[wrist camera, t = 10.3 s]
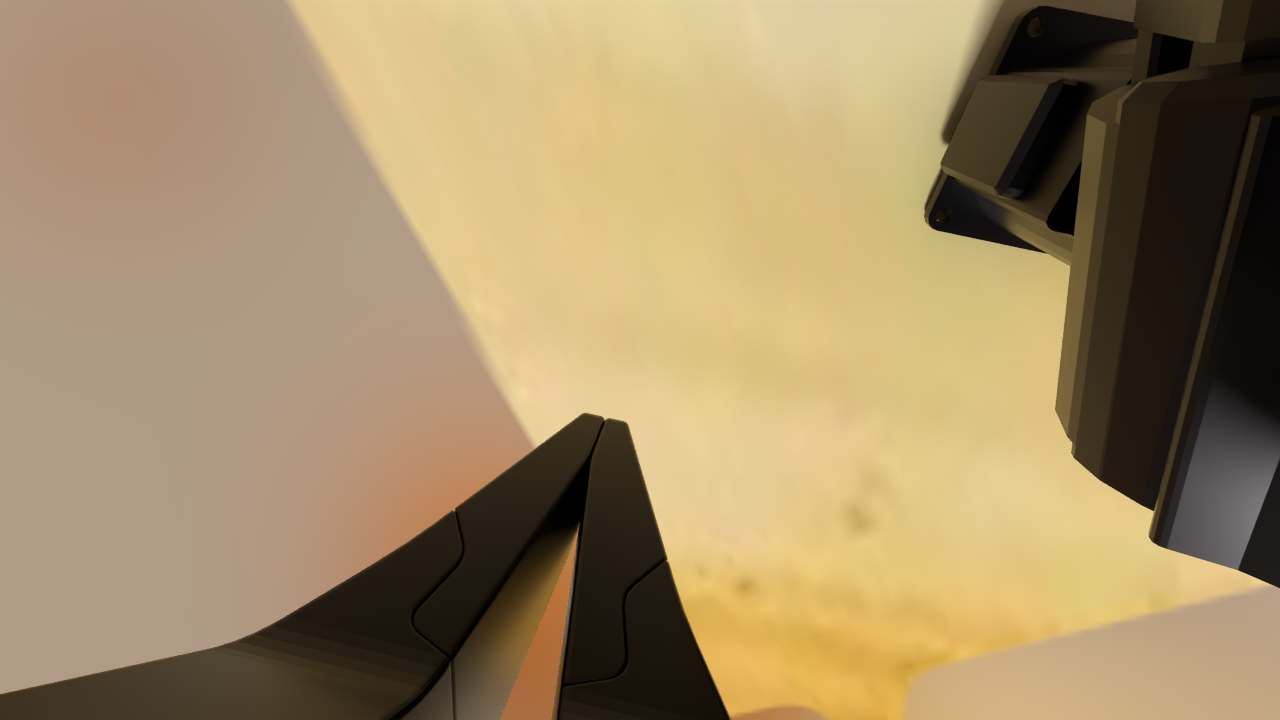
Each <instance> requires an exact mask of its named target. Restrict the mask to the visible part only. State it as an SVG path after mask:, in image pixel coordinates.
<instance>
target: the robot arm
mask: <svg viewBox="0 0 1280 720" xmlns="http://www.w3.org/2000/svg"><path fill="white" fill-rule="evenodd" d="M1034 18H1036V19H1038V20H1039V23H1040V25H1039V29H1038V31H1037V32H1036V34H1035V35H1033V36H1032V37H1030V36H1028V34H1027V26H1028V24H1029V23H1030V22H1031V20H1033V19H1034ZM941 167H942V169H943V171H944V172H943V174H942V177H941V179H940V181H939V183H938V185H937V187H936V189H935V192H934V194H933V196H932V198H931V200H930V202H929V204H928V206H927V209H926V211H925V215H924V218H925V222H926V223H927V224H928V225H929V226H930V227H931V228H933V229H935V230H937V231H942V232H947V233H952V234H956V235H961V236H966V237H971V238H975V239H980V240H985V241H990V242H994V243H999V244H1004V245H1009V246H1013V247H1018V248H1023V249H1028V250H1032V251H1037V252H1042V253H1047V254H1049V255H1051V256H1053V257H1055V258H1057V259H1058V260H1060V261H1062V262H1064V263H1066V264H1067V265H1069V266H1071V268H1070V277H1069V287H1068V296H1067V305H1066V314H1065V323H1064V333H1063V342H1062V351H1061V360H1060V369H1059V379H1058V388H1057V397H1056V406H1055V410H1056V412H1057V415H1058V417H1059V419H1060V421H1061V424H1062V426H1063V428H1064V430H1065V433H1066V435H1067V437H1068V438H1069V439H1070V440H1071V441H1072V443H1073V444H1072V451H1071V453H1072V455H1073V457H1074V458H1075V459H1076V460H1077V461H1078V462H1079V463H1080V464H1082V465H1083V466H1084V467H1085V468H1086V469H1087V470H1088V471H1090V472H1091V473H1092V474H1093V475H1094V476H1095V477H1096V478H1098V479H1099V480H1100V481H1102V482H1104V483H1105V484H1107V485H1109V486H1110V487H1112V488H1114V489H1115V490H1117V491H1119V492H1120V493H1122V494H1124V495H1125V496H1127V497H1129V498H1130V499H1132V500H1134V501H1135V502H1137V503H1139V504H1140V505H1142V506H1144V507H1146V508H1148V509H1150V510H1152V511H1154V514H1153V518H1152V522H1151V526H1150V530H1149V538H1150V539H1151V541H1152V542H1153V543H1155V544H1157V545H1158V546H1160V547H1163V548H1166V549H1169V550H1173V551H1176V552H1179V553H1183V554H1186V555H1189V556H1193V557H1196V558H1199V559H1203V560H1206V561H1209V562H1213V563H1216V564H1219V565H1223V566H1226V567H1229V568H1233V569H1236V570H1239V571H1241V572H1243V573H1246V574H1248V575H1251V576H1253V577H1255V578H1258V579H1260V580H1262V581H1265V582H1267V583H1269V584H1272V585H1274V586H1276V587H1279V588H1280V0H1137V2H1136V10H1135V17H1134V23H1132V22H1127V21H1122V20H1117V19H1111V18H1106V17H1101V16H1096V15H1091V14H1086V13H1081V12H1075V11H1070V10H1065V9H1060V8H1055V7H1050V6H1039V7H1034V8H1031V9H1028V10H1026V11H1024V12H1023V13H1022V14H1021V15H1019V16H1018V17H1017V19H1016V20H1015V22H1014V23H1013V25H1012V27H1011V29H1010V31H1009V33H1008V35H1007V38H1006V40H1005V42H1004V44H1003V46H1002V48H1001V50H1000V52H999V55H998V57H997V59H996V61H995V63H994V65H993V67H992V70H991V72H990V74H989V76H987V77H985V78H984V79H982V80H981V81H979V82H978V83H977V85H976V87H975V89H974V91H973V93H972V96H971V98H970V100H969V102H968V104H967V107H966V109H965V111H964V113H963V115H962V117H961V120H960V122H959V124H958V126H957V128H956V130H955V133H954V135H953V137H952V139H951V141H950V143H949V146H948V148H947V150H946V152H945V154H944V156H943V159H942V161H941ZM943 209H947V210H948V214H947V216H946V217H945V218H944V219H942V220H941V221H937V220H936V215H937V214H938V212H939V211H941V210H943ZM578 529H579V531H578ZM577 532H578V538H577V544H576V550H575V557H574V564H573V572H572V579H571V585H570V593H569V600H568V606H567V613H566V620H565V627H564V634H563V641H562V648H561V656H560V662H559V669H558V676H557V683H556V690H555V697H554V705H553V711H552V718H551V720H731V718H730V716H729V714H728V711H727V709H726V707H725V705H724V702H723V700H722V698H721V696H720V693H719V691H718V689H717V686H716V684H715V682H714V680H713V677H712V675H711V673H710V671H709V668H708V666H707V664H706V662H705V659H704V657H703V655H702V652H701V650H700V648H699V646H698V643H697V641H696V638H695V636H694V634H693V631H692V629H691V626H690V624H689V621H688V619H687V616H686V614H685V611H684V608H683V605H682V602H681V600H680V597H679V594H678V591H677V588H676V585H675V581H674V578H673V575H672V571H671V568H670V565H669V562H667V555H666V552H665V548H664V545H663V542H662V538H661V535H660V531H659V528H658V525H657V521H656V518H655V514H654V511H653V508H652V504H651V501H650V497H649V494H648V491H647V487H646V484H645V481H644V477H643V474H642V470H641V467H640V464H639V460H638V457H637V453H636V450H635V447H634V443H633V440H632V436H631V433H630V430H629V426H628V424H627V423H626V422H624V421H620V420H615V419H611V418H608V419H606V420H605V419H604V418H603V417H602V416H598V415H593V414H589V413H583V414H581V415H580V416H579V417H577V418H576V419H574V420H573V421H572V422H570V423H569V424H568V425H566V426H565V427H564V428H562V429H561V430H560V431H558V432H557V433H556V434H554V435H553V436H552V437H550V438H549V439H548V440H546V441H545V442H544V443H542V444H541V445H539V446H538V447H537V448H535V449H534V450H533V451H532V452H530V453H529V454H528V455H526V456H525V457H523V458H522V459H521V460H519V461H518V462H517V463H515V464H514V465H513V466H511V467H510V468H509V469H507V470H506V471H505V472H503V473H502V474H501V475H499V476H498V477H496V478H495V479H494V480H493V481H491V482H490V483H488V484H487V485H486V486H485V487H483V488H482V489H480V490H479V491H478V492H476V493H475V494H474V495H472V496H471V497H470V498H468V499H467V500H466V501H464V502H463V503H461V504H460V505H459V506H458V507H456V508H455V511H450V512H449V513H448V514H446V515H445V516H444V517H442V518H441V519H440V520H438V521H437V522H436V523H434V524H433V525H432V526H430V527H428V528H427V529H426V530H424V531H423V532H422V533H420V534H419V535H417V536H416V537H414V538H413V539H411V540H410V541H409V542H407V543H406V544H404V545H403V546H401V547H399V548H398V549H396V550H395V551H393V552H391V553H390V554H388V555H387V556H385V557H383V558H382V559H380V560H379V561H377V562H376V563H374V564H372V565H371V566H369V567H367V568H366V569H364V570H362V571H361V572H359V573H357V574H356V575H354V576H352V577H351V578H349V579H347V580H346V581H344V582H342V583H341V584H339V585H337V586H336V587H334V588H332V589H331V590H329V591H327V592H326V593H324V594H322V595H321V596H319V597H318V598H316V599H314V600H312V601H311V602H309V603H307V604H306V605H304V606H302V607H301V608H299V609H297V610H296V611H294V612H292V613H291V614H289V615H287V616H286V617H284V618H282V619H280V620H278V621H277V622H275V623H273V624H271V625H270V626H268V627H265V628H263V629H261V630H259V631H257V632H255V633H253V634H251V635H249V636H246V637H243V638H241V639H239V640H236V641H233V642H230V643H227V644H224V645H221V646H218V647H214V648H210V649H206V650H202V651H197V652H192V653H187V654H183V655H178V656H174V657H169V658H165V659H160V660H155V661H151V662H146V663H142V664H137V665H132V666H128V667H123V668H119V669H114V670H110V671H105V672H101V673H96V674H91V675H86V676H82V677H77V678H73V679H68V680H64V681H59V682H54V683H50V684H45V685H41V686H36V687H31V688H27V689H22V690H18V691H13V692H8V693H4V694H0V720H500V717H501V715H502V713H503V710H504V708H505V706H506V703H507V701H508V698H509V696H510V693H511V691H512V689H513V686H514V684H515V682H516V679H517V677H518V674H519V672H520V669H521V667H522V665H523V663H524V660H525V658H526V655H527V653H528V650H529V648H530V646H531V643H532V641H533V639H534V636H535V634H536V631H537V629H538V627H539V624H540V622H541V619H542V617H543V615H544V612H545V610H546V608H547V605H548V603H549V600H550V598H551V596H552V593H553V591H554V588H555V586H556V584H557V581H558V579H559V576H560V574H561V572H562V569H563V567H564V564H565V562H566V559H567V557H568V555H569V552H570V550H571V548H572V545H573V543H574V540H575V537H576V535H577Z"/></svg>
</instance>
